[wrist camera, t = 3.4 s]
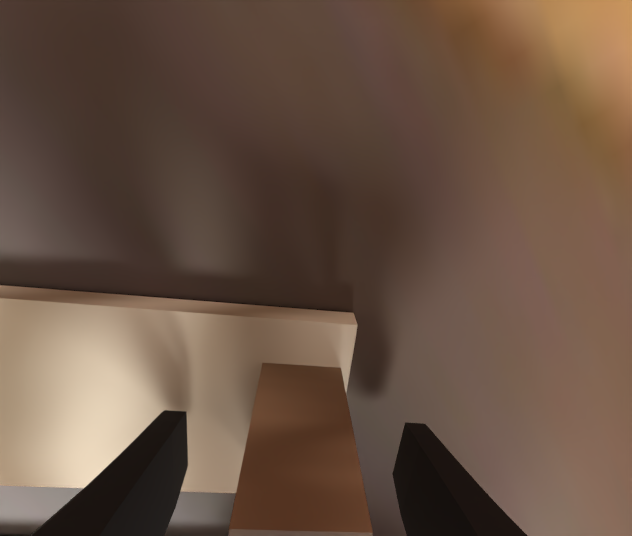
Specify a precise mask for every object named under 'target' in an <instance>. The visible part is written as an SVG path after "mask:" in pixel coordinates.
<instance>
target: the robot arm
mask: <svg viewBox="0 0 632 536" xmlns="http://www.w3.org/2000/svg"><path fill="white" fill-rule="evenodd" d="M187 468H188V445H187V411H170V410H164V411H163V412H162V413H160V414H159V415H158V416H157V417H156V418H155V420H154V421H153V422H152V423H151V424H150V425H149V426H148V427H147V428H146V429H145V430H144V431H143V432H142V433H141V434H140V435H139V436H138V437H137V438H136V439H135V440H134V441H133V442H132V443H131V444H130V445H129V446H128V447H127V448H126V449H125V450H124V451H123V452H122V453H121V454H120V455H119V456H117V457H116V458H115V459H114V460H113V461H112V462H111V463H110V464H109V465H108V466H107V467H106V468H105V469H104V470H103V471H102V472H101V473H100V474H99V475H98V476H96V477H95V478H94V479H93V480H92V481H91V482H90V483H89V484H88V485H87V486H86V487H85V488H84V489H82V490H81V491H80V492H79V493H78V494H77V495H76V496H75V497H73V498H72V499H71V500H70V501H69V502H68V503H67V504H66V505H64V506H63V507H62V508H61V509H60V510H59V511H58V512H57V513H55V514H54V515H53V516H52V517H51V518H50V519H49V520H48V521H46V522H45V523H44V524H43V525H42V526H41V527H39V528H38V529H37V530H36V531H35V532H34V533H32V534H31V535H30V536H164V534H165V531H166V529H167V527H168V524H169V522H170V519H171V517H172V514H173V512H174V509H175V507H176V503H177V500H178V497H179V494H180V491H181V488H182V484H183V481H184V478H185V474H186V471H187ZM393 478H394V483H395V488H396V494H397V499H398V503H399V508H400V513H401V517H402V520H403V523H404V527H405V530H406V533H407V536H527V535H526V534H525V533H524V532H523V531H522V530H521V529H520V528H519V527H518V526H517V525H516V524H515V523H514V522H513V521H512V520H511V519H510V518H509V517H508V516H507V515H506V513H505V512H504V511H503V510H502V509H501V508H500V507H499V506H498V505H497V504H496V503H495V502H494V501H493V500H492V499H491V498H490V497H489V495H488V494H487V493H486V492H485V491H484V490H483V489H482V488H481V487H480V486H479V485H478V483H477V482H476V481H475V480H474V479H473V478H472V477H471V476H470V475H469V473H468V472H467V471H466V470H465V469H464V468H463V467H462V465H461V464H460V463H459V462H458V461H457V460H456V459H455V458H454V456H453V455H452V454H451V453H450V452H449V451H448V449H447V448H446V447H445V446H444V445H443V444H442V443H441V441H440V440H439V439H438V438H437V437H436V436H435V434H434V433H433V432H432V431H431V430H430V429H429V428H428V427H427V425H426V424H419V423H405V426H404V430H403V434H402V438H401V442H400V446H399V450H398V454H397V458H396V463H395V467H394V471H393Z"/></svg>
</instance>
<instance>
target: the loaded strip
mask: <svg viewBox="0 0 632 536" xmlns="http://www.w3.org/2000/svg"><path fill="white" fill-rule="evenodd" d="M357 326H358V325H357V322H356V319H355V316H354V313H349V312H336V311H324V310H311V309H298V308H285V307H273V306H260V305H247V304H234V303H222V302H209V301H196V300H183V299H170V298H158V297H145V296H132V295H119V294H107V293H94V292H81V291H68V290H56V289H43V288H30V287H17V286H5V285H0V485H4V486H33V487H63V488H85V487H86V486H87V485H88V484H89V483H90V482H91V481H92V480H93V479H94V478H95V477H96V476H98V475H99V474H100V473H101V472H102V471H103V470H104V469H105V468H106V467H107V466H108V465H109V464H110V463H111V462H112V461H113V460H114V459H115V458H116V457H117V456H119V455H120V454H121V453H122V452H123V451H124V450H125V449H126V448H127V447H128V446H129V445H130V444H131V443H132V442H133V441H134V440H135V439H136V438H137V437H138V436H139V435H140V434H141V433H142V432H143V431H144V430H145V429H146V428H147V427H148V426H149V425H150V424H151V423H152V422H153V421H154V420H155V418H156V417H157V416H158V415H159V414H160V413H162V412H163V411H164V410H170V411H187V445H188V468H187V471H186V474H185V478H184V481H183V484H182V488H181V491H183V492H213V493H236V496H235V501H234V506H233V511H232V516H231V521H230V525H229V536H372V534H373V531H372V526H371V521H370V516H369V510H368V505H367V500H366V495H365V490H364V485H363V479H362V474H361V469H360V464H359V459H358V453H357V448H356V443H355V438H354V433H353V428H352V422H351V417H350V412H349V407H348V402H347V397H346V392H347V386H348V380H349V374H350V368H351V362H352V356H353V350H354V344H355V338H356V332H357Z"/></svg>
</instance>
